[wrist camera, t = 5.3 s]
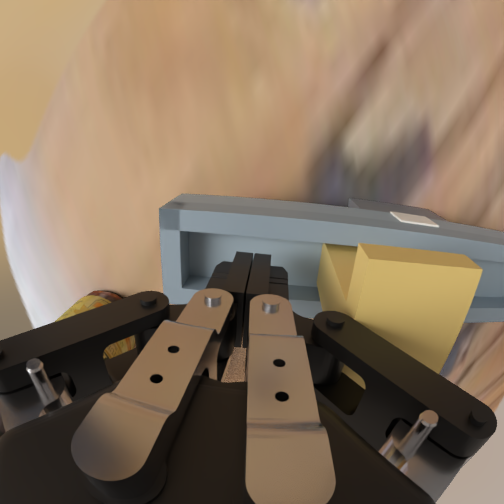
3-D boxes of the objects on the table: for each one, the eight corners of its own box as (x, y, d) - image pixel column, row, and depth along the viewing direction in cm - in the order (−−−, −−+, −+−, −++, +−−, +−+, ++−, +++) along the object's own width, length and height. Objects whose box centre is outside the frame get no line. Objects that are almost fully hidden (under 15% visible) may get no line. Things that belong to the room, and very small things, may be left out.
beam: (195, 256, 21) (135, 352, 12) (195, 183, 19) (117, 234, 10) (500, 282, 20) (568, 350, 10) (517, 225, 18) (599, 279, 8)
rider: (310, 314, 16) (322, 417, 10) (328, 199, 14) (369, 259, 7) (377, 318, 16) (416, 413, 10) (403, 209, 14) (482, 269, 7)
